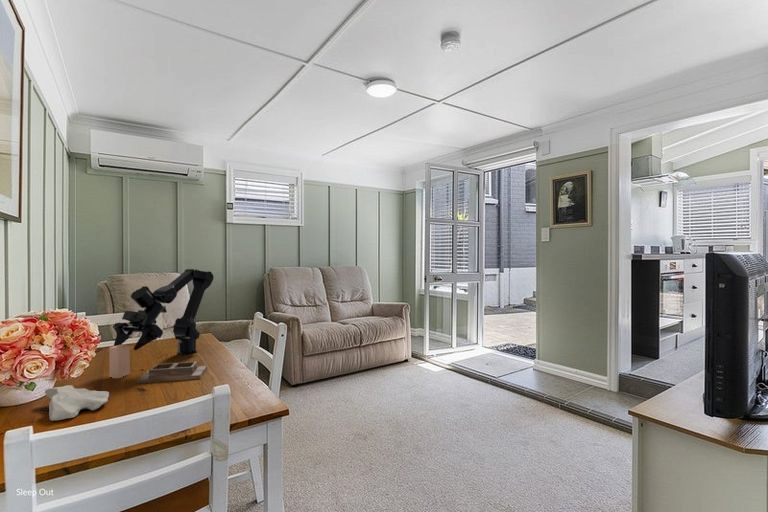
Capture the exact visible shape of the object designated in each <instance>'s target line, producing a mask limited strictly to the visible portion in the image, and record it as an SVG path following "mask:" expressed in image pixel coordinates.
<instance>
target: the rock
mask: <svg viewBox="0 0 768 512" xmlns="http://www.w3.org/2000/svg"><path fill="white" fill-rule="evenodd" d="M44 394H45V396H46V397H47V398H49V399H50V402H49V405H48V410H49V411H48V416H49V420H50V421H55V422H56V421H61V420H66V419H72V418H73V419H74V418H75V417H76V416H78V414H79V413H80V411H81V410H90V411H95V410H97V409H99V408H100V407H101V406H102V405H104V404H106V403H107V402H108V401H109V399H108V398H109V397H110V396H109V395H110V392H109V391H105V390H102V391H101V390H100V391H98V390H89V389H87V388H85V387H84V388H75V387H74V385H71V384H70V385H64V386H58V387H57V386H56V387H50V388H47V389H45V390H44Z"/></svg>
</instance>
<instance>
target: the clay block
mask: <svg viewBox="0 0 768 512" xmlns="http://www.w3.org/2000/svg"><path fill="white" fill-rule="evenodd" d="M130 350H131V347H130V345H129V344H121V345H117V346H114V345H113V346H110V347H109V352H108V353H109V378H110V377H112V378H111V379H118V378H119V379H121V378H123V376H124V377H127V376H130V375H129V374H131V371H130V369H131V367H130V365H131V364H130V363H131V362H130V361H131V360H130V358H131V357H130V355H131V354H130ZM126 375H127V376H126Z"/></svg>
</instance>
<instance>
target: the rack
mask: <svg viewBox="0 0 768 512" xmlns="http://www.w3.org/2000/svg"><path fill="white" fill-rule="evenodd" d="M207 369H208V366H207V365H199V366H198V361H197V360H196V361H185V362H169V363H168V362H166V363H155V364H154V365H153V366H152V367H151V368H150V369H148V370H147V371H146V372H145V373H143V375H141V376H140V377H138V379H136V384H148V383H160V382H161V383H162V382H163V383H164V382H173V381H174V382H175V381H186V380H199V379H201V378H202V377H203V375H204V374H205V372H206V371H207ZM205 370H206V371H205Z"/></svg>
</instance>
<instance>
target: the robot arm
mask: <svg viewBox="0 0 768 512" xmlns="http://www.w3.org/2000/svg"><path fill="white" fill-rule="evenodd" d="M214 278H215V277H214V274H213V272H211V271H208V270H207V271H205V270H199V269H196V268H187V269H185V270H184V272H182V273H181V274H179V276H177V277H176V278H174V280H172V281H171V282H170V283H168V284H167V285H164V286H161V287H158V288H157V289H155V290H154V291H153V292H152V291H151V290H150V288H149V287H148V286H146V285H145V286H144V285H143V286H141V287H140V288H138V289H136V290H135V291H133V292H132V293H131V295H130V298H131V299H132V300H133V302H135V303H136V304H137V306H138V307H140V309H143V308H144V309H143V310H137V311H135V310H125V311H124V313H123V316H122V317H121V320H122V321H123V320H125V321H128V323H127V322H121V321H120V322H115V324H114V325H112V329H114V332H116V336H115V340H114V343H113V346H117V345H124V344H123V343H125V342H126V341H128V340H129V338H130V336H131V335H132V334H133V333H141V335H140V337H139V338H138V340H137V341H136V344H135V345H134V347H133V350H134V351H137V350H139V349H140V348H142V347H144V346H145V345H147V344H149V343H151V342H153V341H155V340H157V339H161V337H162V336H163V335H164V330H163V329H162V328H161V327H160V326H159V325H158V324H157V323H158V322H157V319H158V317H159V316H160V314H161V313H163V314H164V313H167V308H166V307H167V306H165V305H163V304H172V302H173V301H174V300H175V299H176V298H177V296H178V293H179V292H180V291H181V290H182V289H183V288H185V286H186V285H188V284H189V283H191V282H192V285H193V289H192V291H191V294H190V297H189V300H188V302H187V304H186V307H185V309H184V312H183V315H182V316H181V317H179V318H178V317H177V318H176V319H175V323H174V324H173V326H172V327H173V329H172V333H173V335H174V338H175V340H178V342H177V352H178V353H177V352H176V353H177V354H180V355H182V354H185V355H188V354H187V353H190V354H193V353H192V352H195V353H197V352H196V351H198V350H197V340H198V339H200V332H199V331H198V330H197V329H196V326H197V324H196V316H197V314H198V311H199V308H200V305H201V302H202V299H203V297H204V295H205V292H206V290H207V289H208V288H209V287H211V285H212V283H213V281H214ZM130 325H132V326H130Z"/></svg>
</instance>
